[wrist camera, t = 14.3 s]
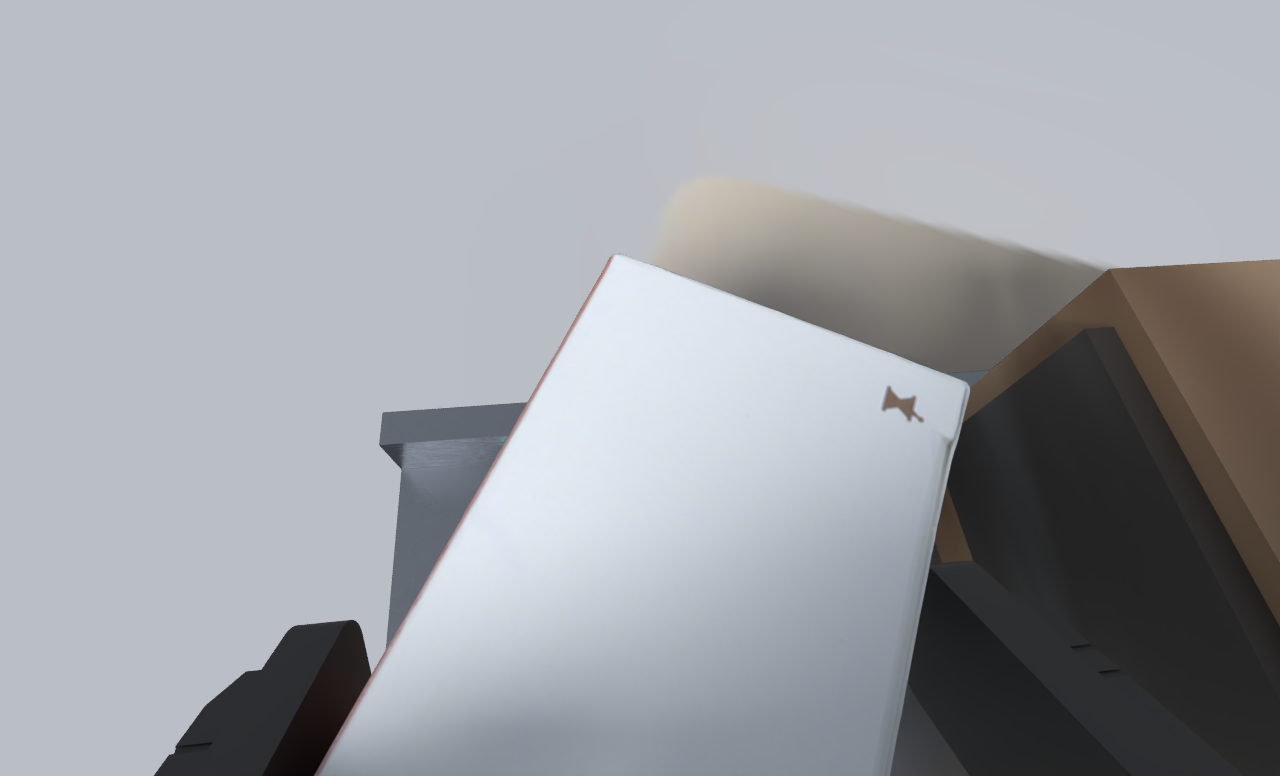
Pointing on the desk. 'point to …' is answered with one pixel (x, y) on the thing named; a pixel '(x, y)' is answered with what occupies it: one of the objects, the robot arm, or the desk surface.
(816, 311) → the desk surface
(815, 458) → the small box
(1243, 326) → the twin brown uprights
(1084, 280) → the desk surface
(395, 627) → the grey shallow tray
